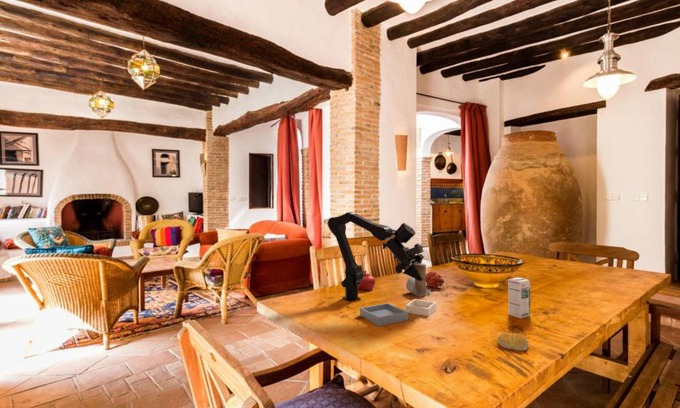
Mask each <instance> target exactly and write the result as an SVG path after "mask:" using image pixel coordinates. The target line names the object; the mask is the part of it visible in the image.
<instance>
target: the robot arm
mask: <svg viewBox="0 0 680 408" xmlns="http://www.w3.org/2000/svg"><path fill="white" fill-rule="evenodd" d="M349 223H352V224H353V225H356V226H358V227H360V228H362V229H363V230H366V231H368V232H369V233H370V234H372V237H375V239H377V240H378V241H380V242H381V241H382V250H385V249H388V250H389V251H390V252H391V253H392V255H393V256H394V257H393V259H395V260H396V259H397V260H398V262H399V263H398V264H396V266H395V267H394V271H395V272H396V273H397V275H400V274H401V273H402V274H403V275H406V276H409V277H410V278H411V277H413V278H415V279H417V280H419V281H422V278H421V276H420V275H419V273H418V272H417V270H416V269H415V264H423V260H424V259H425V256H424V255H423V253H424V246H423V245H422V244H420V243H416V244H414V245H413V246H414V247H412V248H410V247H407V246H406V247H405V246H404V244H407V243H408V242H409V241H411V239H412V238H413V237H414V236H415V235H416V231H415V230H414V228H412V227H411V226H410V225H408V224H406V223H405V222H403V223H401V224H400V225H399V227H398V228H397V229H393V228H392V227H390V226H388V225H384V224H378V223H375V222H373V221H371V220H369V219H367V218H366V217H363V216H362V215H360V214H357V213H355V212H354V211H348V212H345V213H343V214H341V215H338V216H332V217H329V219H328V220H327V223H326V224H327V227H328V229H329V231H330V232H331V234H333V235H334V237H335V239H336V242H337V245H338V247H339V250H340V253H341V257H342V260H343V262H344V265H345V269H344V274H345V278H344V279H343V280H342V281H341V282H340V283H341V286H342V288H344V290H345V291H344V293H345V294H344V295H345V296H342V297H341V298H342V299H344V300H346V301H348V302H353V301H359V300H361V297H359V290H358V289H359V288H358V286H357V285H359V284H360V283H361V281H362V280H363V277H364V274H365V272H364V271H365V270H364V269H363V266H362V264H358V263H357V262H356V260H355V257H354V254H353V251H352V249H351V245H350V243H349V240H348V236H347V234H346V230H347V224H349ZM392 237H393V238H392ZM386 240H387V241H386ZM383 241H386V242H383ZM363 273H364V274H363ZM426 278H427V277H426Z"/></svg>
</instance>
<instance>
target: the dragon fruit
mask: <svg viewBox="0 0 680 408" xmlns="http://www.w3.org/2000/svg"><path fill="white" fill-rule="evenodd" d="M426 277H427V278H426V287H432V288H433V289H438V288H439V287H442V286H443V285H444V284H445V280H444V278H443V277H442V276H441V275H440V274H438V272H436V271H428V273H426Z"/></svg>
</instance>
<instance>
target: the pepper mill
mask: <svg viewBox="0 0 680 408" xmlns="http://www.w3.org/2000/svg"><path fill="white" fill-rule="evenodd" d="M415 269H416V270H417V272H418V273H419V275H420V276H421V278H422V281H419V280H417V279H415V294H414V295H415V296H417V297H426V296H427V293H426V289H427V284H426V274H427V264H426V263H421V264H415Z"/></svg>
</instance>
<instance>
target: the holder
mask: <svg viewBox="0 0 680 408" xmlns="http://www.w3.org/2000/svg"><path fill="white" fill-rule="evenodd" d="M405 311H407V312H408V314H413V315H419V316H424V317H430V316H431V315H432V314H434V312H435V311H437V302H436V301H428V300H423V299H417V298H414V299H412V300H411V301H410V302H408V303H407V304H406V305H405Z"/></svg>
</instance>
